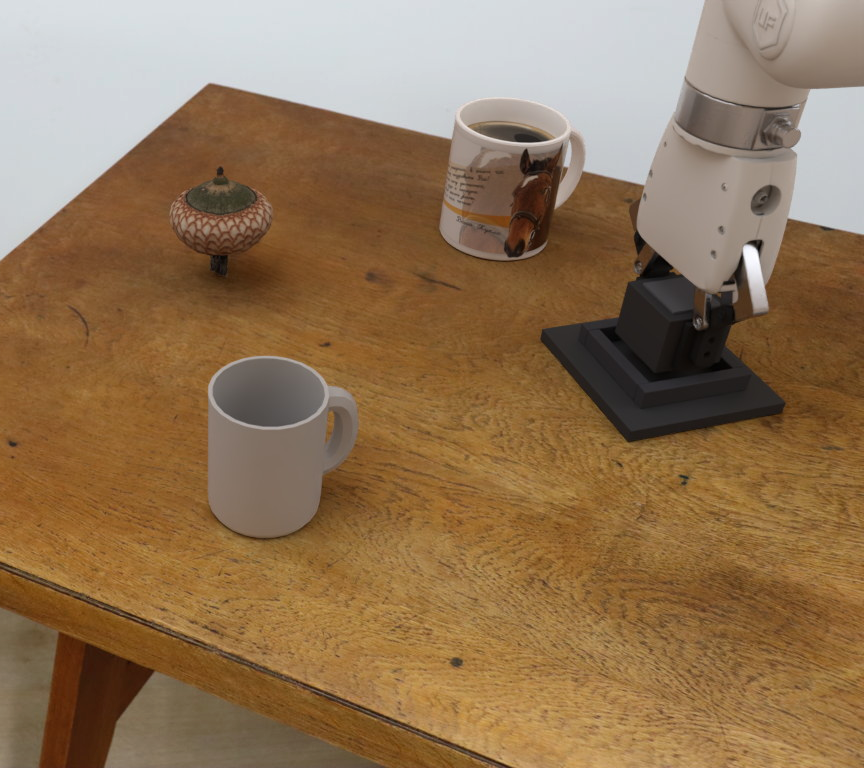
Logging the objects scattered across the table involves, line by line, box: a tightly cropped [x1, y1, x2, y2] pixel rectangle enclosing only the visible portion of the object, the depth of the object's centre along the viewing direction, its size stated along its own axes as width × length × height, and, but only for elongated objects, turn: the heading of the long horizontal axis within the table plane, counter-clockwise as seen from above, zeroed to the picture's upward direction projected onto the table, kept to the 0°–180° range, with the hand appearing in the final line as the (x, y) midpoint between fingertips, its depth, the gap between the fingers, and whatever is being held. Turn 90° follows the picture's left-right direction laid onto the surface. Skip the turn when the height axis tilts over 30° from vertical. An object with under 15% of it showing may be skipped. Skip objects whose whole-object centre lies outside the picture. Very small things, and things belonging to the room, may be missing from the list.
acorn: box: [168, 165, 274, 278], centre depth 90 cm, size 8×8×10 cm
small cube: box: [615, 273, 733, 373], centre depth 81 cm, size 6×6×5 cm
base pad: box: [539, 316, 787, 443], centre depth 83 cm, size 13×13×2 cm
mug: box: [438, 96, 587, 262], centre depth 97 cm, size 10×12×11 cm
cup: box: [207, 355, 360, 539], centre depth 69 cm, size 7×10×9 cm
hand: (668, 341), depth 82 cm, fingers closed on small cube, 5 cm apart
